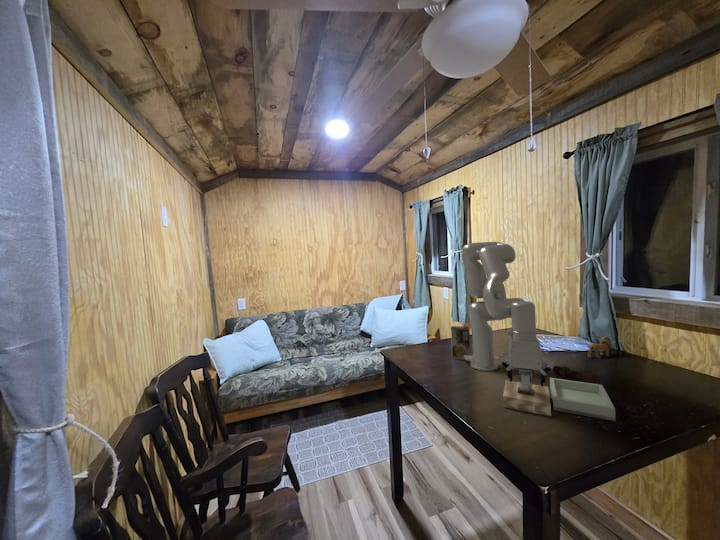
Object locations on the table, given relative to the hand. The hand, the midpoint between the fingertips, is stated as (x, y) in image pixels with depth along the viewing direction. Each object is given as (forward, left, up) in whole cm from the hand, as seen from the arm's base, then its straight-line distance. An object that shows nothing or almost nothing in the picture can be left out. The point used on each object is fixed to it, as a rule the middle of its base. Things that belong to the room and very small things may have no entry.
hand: (526, 382), depth 101 cm
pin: (0, 0, -7) cm, 7 cm away
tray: (+16, +7, -7) cm, 19 cm away
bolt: (+17, +28, -8) cm, 34 cm away
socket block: (0, 0, -7) cm, 7 cm away
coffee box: (-30, +37, -8) cm, 49 cm away
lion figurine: (+31, +64, -8) cm, 71 cm away
